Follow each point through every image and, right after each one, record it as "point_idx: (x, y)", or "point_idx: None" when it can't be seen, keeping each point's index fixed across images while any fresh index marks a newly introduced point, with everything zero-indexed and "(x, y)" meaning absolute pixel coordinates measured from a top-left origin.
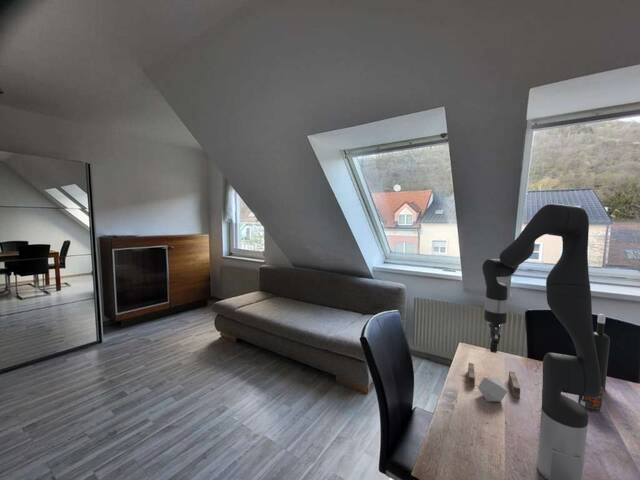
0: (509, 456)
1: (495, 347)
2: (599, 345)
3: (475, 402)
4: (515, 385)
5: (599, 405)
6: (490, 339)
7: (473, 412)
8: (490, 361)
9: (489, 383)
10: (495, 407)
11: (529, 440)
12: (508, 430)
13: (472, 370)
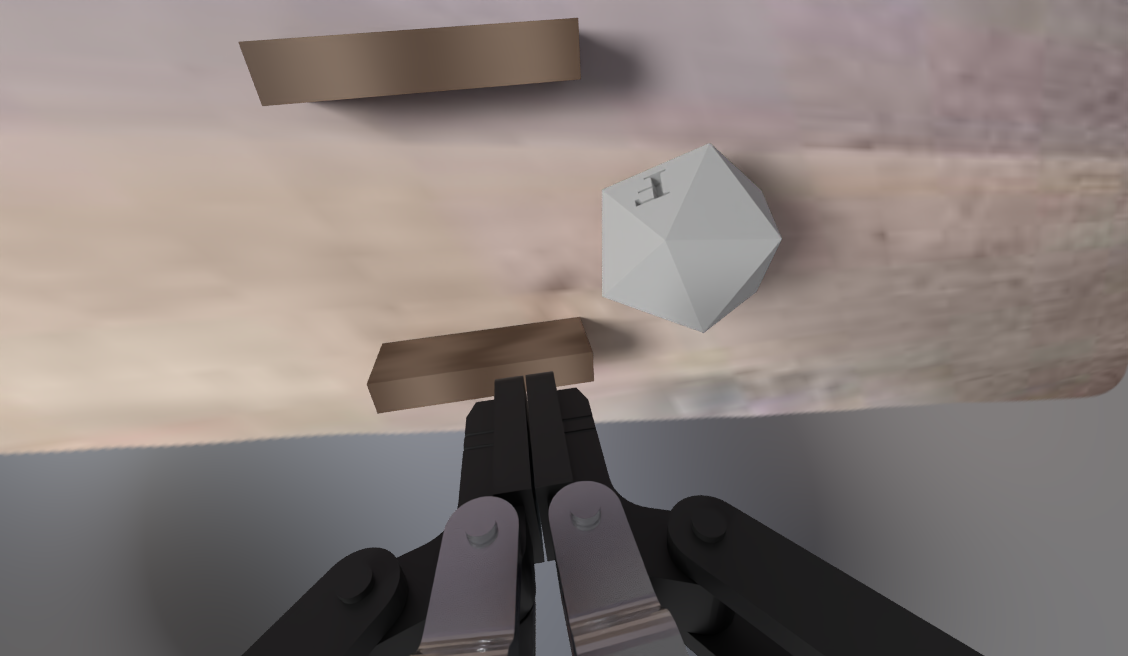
0: (1090, 136)
1: (600, 450)
2: None
3: None
4: (542, 61)
5: None
6: (532, 619)
7: (814, 297)
8: (41, 249)
9: (748, 286)
10: None
11: (995, 18)
12: (925, 132)
13: (485, 377)
